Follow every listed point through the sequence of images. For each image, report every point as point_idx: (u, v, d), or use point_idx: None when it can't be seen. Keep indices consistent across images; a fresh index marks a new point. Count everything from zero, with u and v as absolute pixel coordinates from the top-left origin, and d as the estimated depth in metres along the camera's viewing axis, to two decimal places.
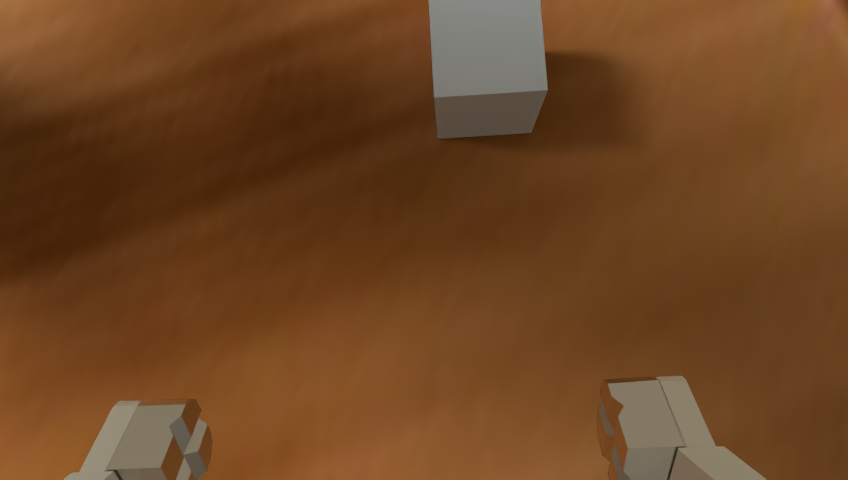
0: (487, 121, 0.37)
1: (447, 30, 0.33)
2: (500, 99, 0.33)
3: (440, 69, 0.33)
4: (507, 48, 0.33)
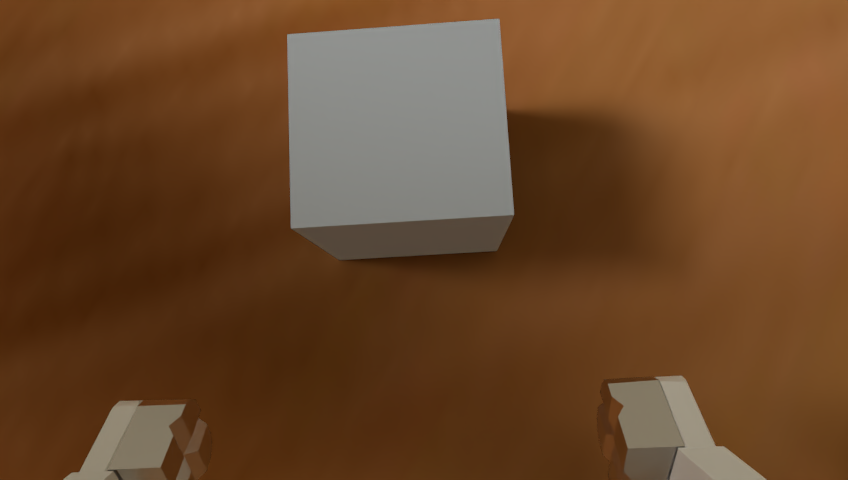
0: (414, 245, 0.21)
1: (320, 95, 0.17)
2: (424, 226, 0.17)
3: (305, 171, 0.17)
4: (436, 130, 0.17)
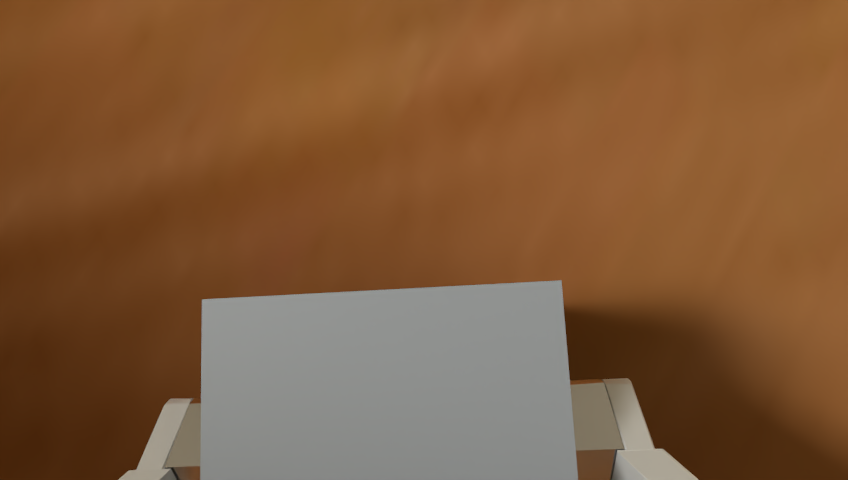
0: None
1: (254, 412, 0.10)
2: None
3: None
4: None
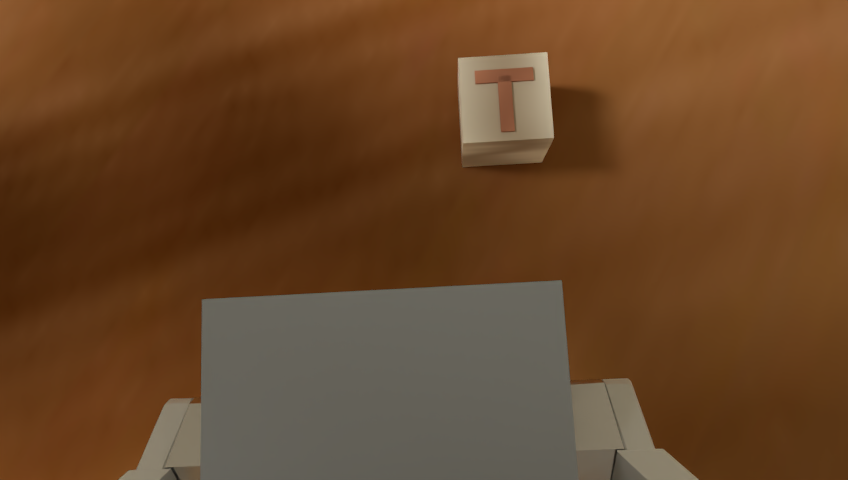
0: None
1: (254, 412, 0.10)
2: None
3: None
4: None
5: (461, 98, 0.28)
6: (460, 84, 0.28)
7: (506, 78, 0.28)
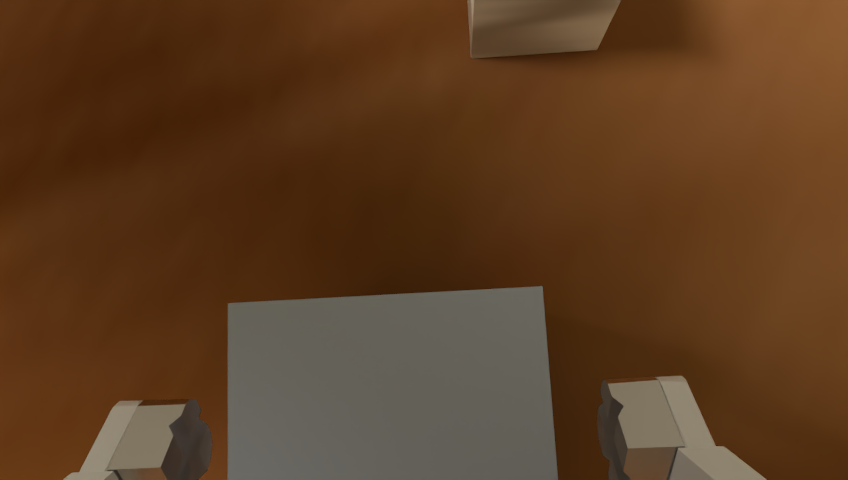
0: None
1: (274, 402, 0.12)
2: None
3: None
4: (448, 465, 0.11)
5: None
6: None
7: None
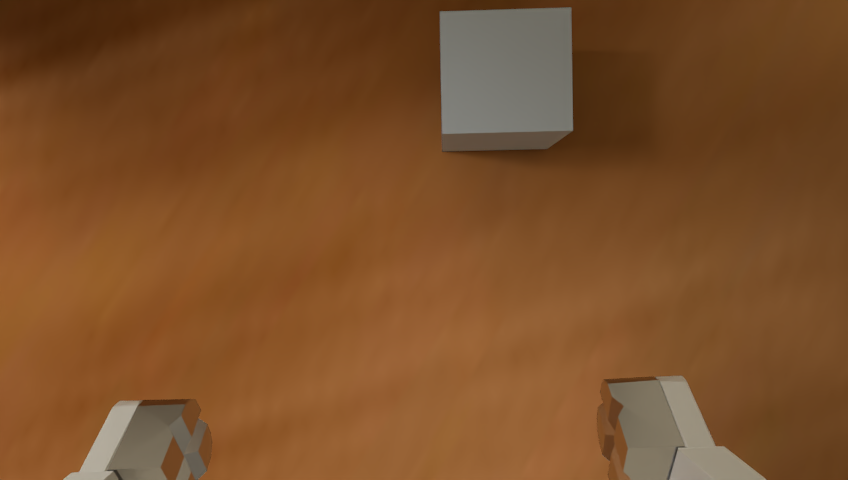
0: (499, 144, 0.33)
1: (459, 52, 0.28)
2: (517, 134, 0.29)
3: (450, 100, 0.28)
4: (530, 77, 0.28)
5: None
6: None
7: None
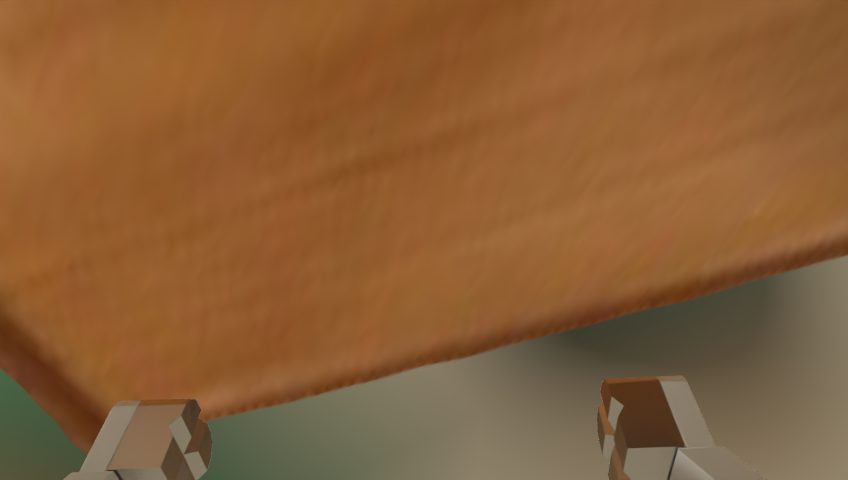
0: None
1: None
2: None
3: None
4: None
5: None
6: None
7: None
